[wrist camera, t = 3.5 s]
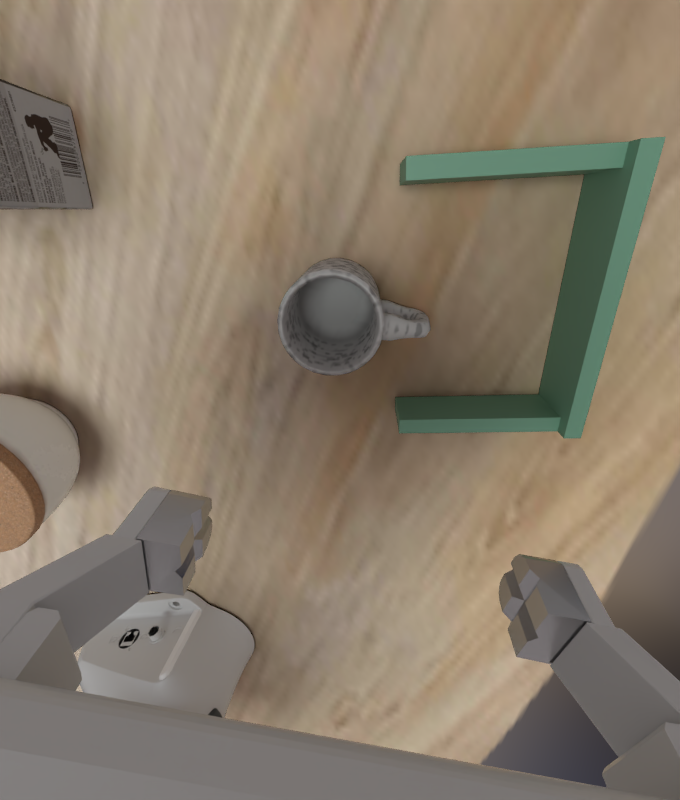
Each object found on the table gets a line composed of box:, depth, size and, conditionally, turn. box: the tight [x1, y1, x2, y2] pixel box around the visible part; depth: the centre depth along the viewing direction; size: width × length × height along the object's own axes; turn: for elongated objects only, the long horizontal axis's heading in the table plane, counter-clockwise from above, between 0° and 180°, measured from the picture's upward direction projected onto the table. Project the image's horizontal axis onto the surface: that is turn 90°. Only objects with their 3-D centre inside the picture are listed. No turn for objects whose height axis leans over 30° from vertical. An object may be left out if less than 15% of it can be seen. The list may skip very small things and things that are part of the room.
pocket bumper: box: [395, 137, 665, 438], centre depth 26 cm, size 13×18×5 cm
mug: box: [278, 258, 430, 375], centre depth 26 cm, size 10×7×7 cm, turn 84°
